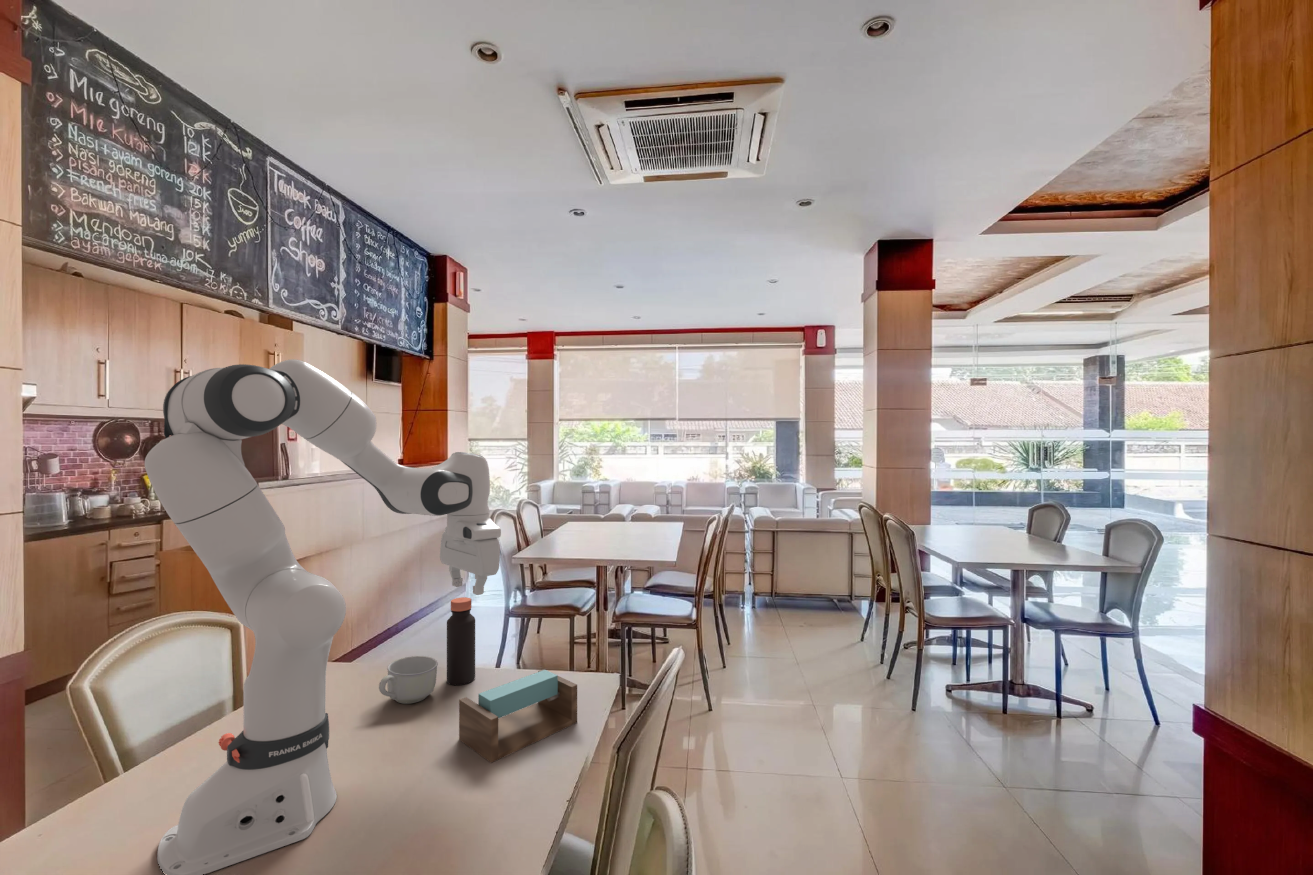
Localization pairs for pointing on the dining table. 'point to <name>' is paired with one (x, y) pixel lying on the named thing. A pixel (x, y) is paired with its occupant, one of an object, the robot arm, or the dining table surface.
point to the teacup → (410, 679)
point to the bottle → (460, 643)
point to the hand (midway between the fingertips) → (467, 590)
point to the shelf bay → (516, 723)
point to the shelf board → (519, 693)
